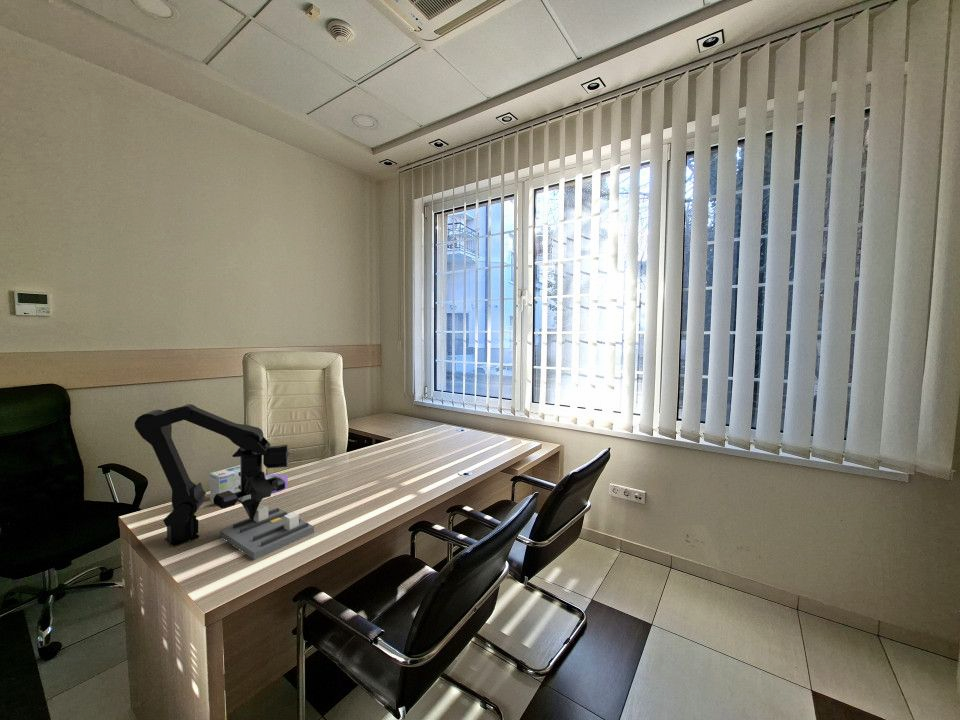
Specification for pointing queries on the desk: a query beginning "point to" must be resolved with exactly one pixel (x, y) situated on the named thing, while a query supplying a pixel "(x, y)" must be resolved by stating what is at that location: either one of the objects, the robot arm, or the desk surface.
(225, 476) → the light bulb box
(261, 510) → the tab
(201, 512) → the desk surface
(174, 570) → the desk surface
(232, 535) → the switch board
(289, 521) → the tab
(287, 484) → the masking tape
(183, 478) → the robot arm
